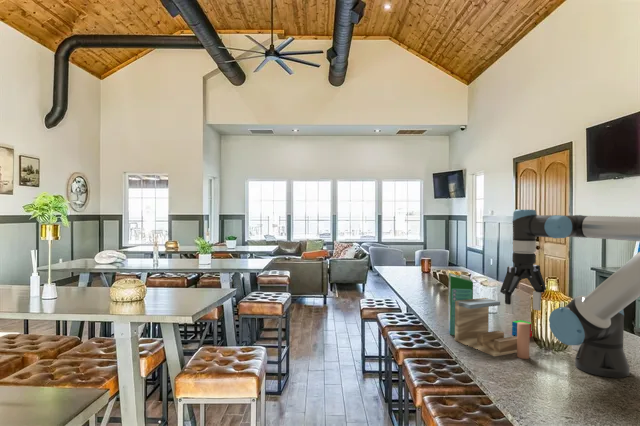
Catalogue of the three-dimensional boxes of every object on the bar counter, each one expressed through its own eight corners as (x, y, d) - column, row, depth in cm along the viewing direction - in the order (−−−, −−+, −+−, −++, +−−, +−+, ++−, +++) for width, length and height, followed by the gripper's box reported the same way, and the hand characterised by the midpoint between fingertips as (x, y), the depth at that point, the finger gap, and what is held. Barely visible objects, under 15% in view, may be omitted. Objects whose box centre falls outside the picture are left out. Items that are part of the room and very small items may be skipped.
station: (526, 350, 161) (526, 308, 161) (494, 356, 154) (495, 312, 154) (484, 335, 180) (485, 297, 180) (454, 340, 173) (455, 300, 173)
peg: (531, 358, 153) (532, 324, 153) (523, 359, 151) (524, 325, 151) (522, 354, 157) (522, 321, 157) (514, 356, 155) (514, 322, 155)
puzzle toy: (524, 338, 176) (524, 324, 176) (511, 335, 181) (512, 321, 181) (532, 336, 179) (533, 323, 179) (520, 333, 184) (520, 320, 184)
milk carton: (472, 336, 179) (473, 276, 179) (450, 334, 181) (450, 275, 181) (469, 330, 188) (470, 273, 188) (448, 329, 190) (448, 272, 190)
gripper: (539, 250, 162) (538, 306, 163) (489, 252, 152) (489, 312, 152) (557, 252, 156) (556, 310, 156) (507, 254, 145) (506, 317, 145)
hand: (523, 311), depth 154 cm, fingers open, 13 cm apart
